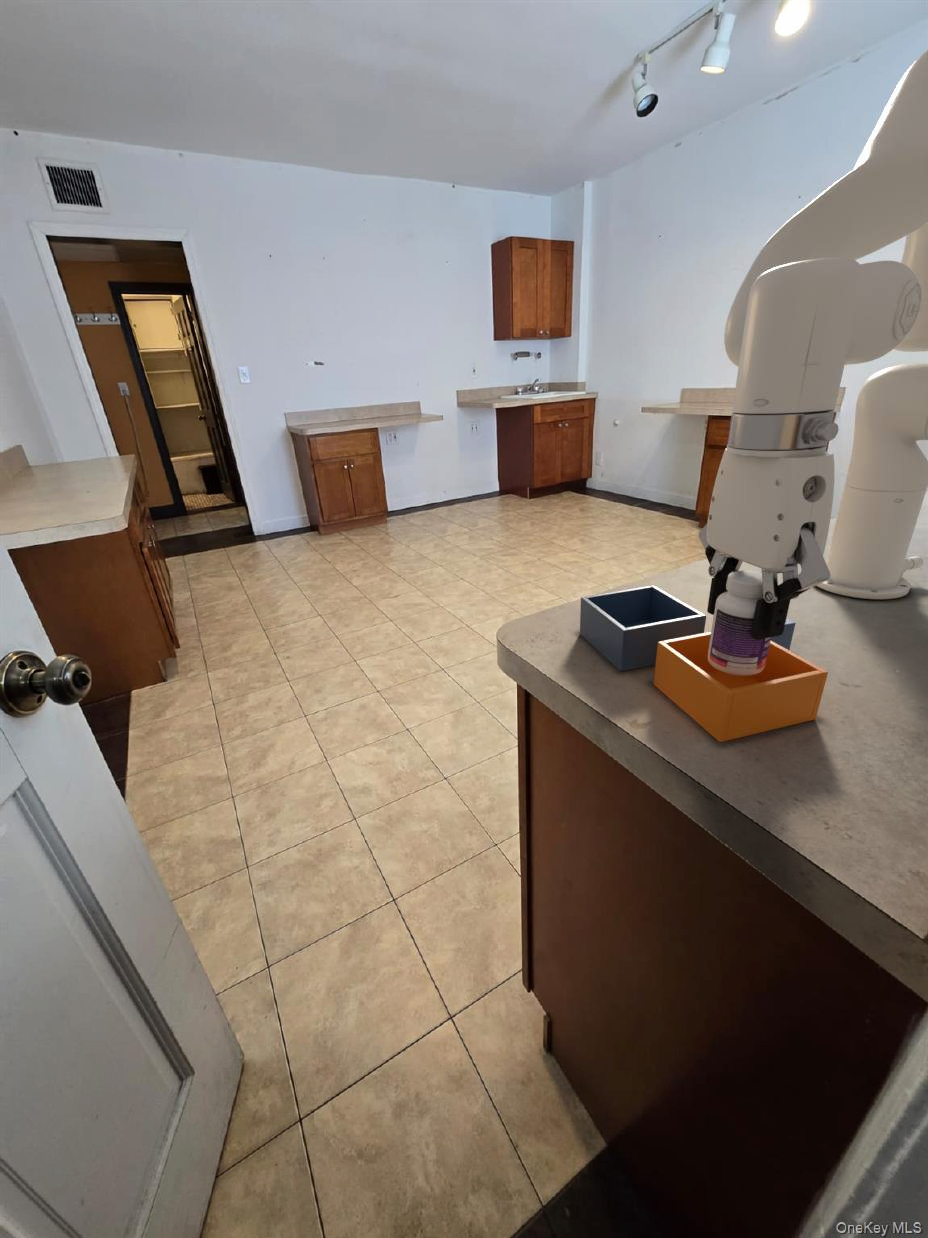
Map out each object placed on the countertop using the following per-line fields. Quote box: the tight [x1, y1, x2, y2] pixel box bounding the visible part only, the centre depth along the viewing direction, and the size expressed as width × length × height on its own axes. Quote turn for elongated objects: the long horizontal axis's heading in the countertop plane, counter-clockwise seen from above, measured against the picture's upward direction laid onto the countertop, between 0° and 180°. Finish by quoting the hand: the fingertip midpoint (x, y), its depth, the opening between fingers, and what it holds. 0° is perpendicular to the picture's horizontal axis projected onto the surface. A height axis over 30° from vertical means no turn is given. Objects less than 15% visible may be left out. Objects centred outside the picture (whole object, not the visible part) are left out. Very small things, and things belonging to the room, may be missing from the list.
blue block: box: [771, 618, 796, 651], centre depth 64 cm, size 4×4×4 cm
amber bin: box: [653, 631, 829, 743], centre depth 54 cm, size 11×11×6 cm
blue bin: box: [579, 584, 707, 672], centre depth 67 cm, size 11×11×6 cm
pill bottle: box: [708, 570, 771, 676], centre depth 52 cm, size 5×5×10 cm
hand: (743, 621), depth 52 cm, fingers closed on pill bottle, 5 cm apart
